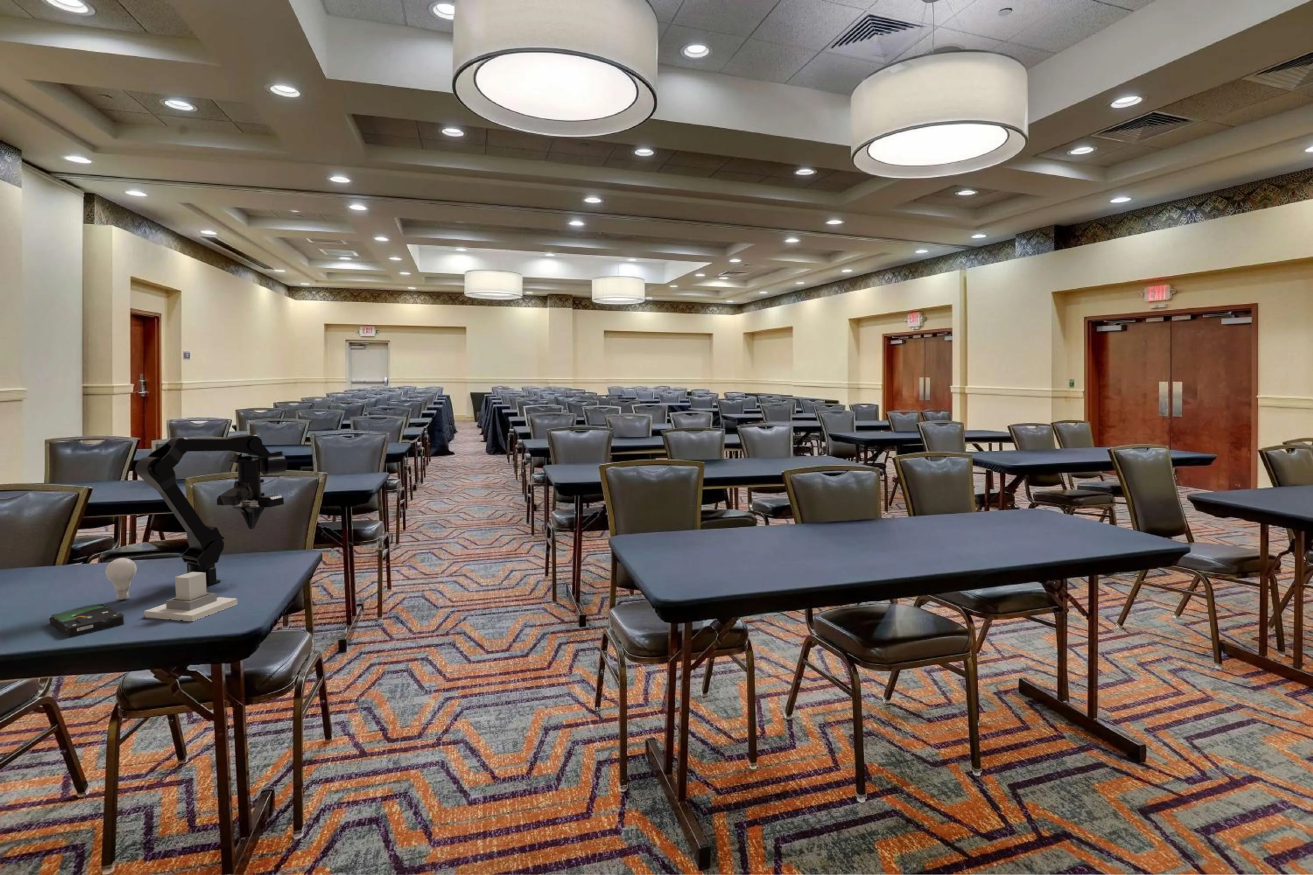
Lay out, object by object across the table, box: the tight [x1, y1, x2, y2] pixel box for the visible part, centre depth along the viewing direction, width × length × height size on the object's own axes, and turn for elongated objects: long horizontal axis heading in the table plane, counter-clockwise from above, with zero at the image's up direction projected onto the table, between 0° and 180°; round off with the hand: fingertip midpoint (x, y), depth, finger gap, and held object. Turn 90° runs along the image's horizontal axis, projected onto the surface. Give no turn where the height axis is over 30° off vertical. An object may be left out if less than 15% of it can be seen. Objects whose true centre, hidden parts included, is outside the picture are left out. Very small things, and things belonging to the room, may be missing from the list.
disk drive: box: [48, 603, 125, 638], centre depth 160 cm, size 10×3×15 cm
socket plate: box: [143, 591, 238, 622], centre depth 169 cm, size 14×13×4 cm
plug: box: [174, 572, 208, 601], centre depth 169 cm, size 4×5×8 cm
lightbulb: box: [105, 557, 138, 601], centre depth 177 cm, size 6×6×11 cm
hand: (251, 528), depth 203 cm, fingers closed
